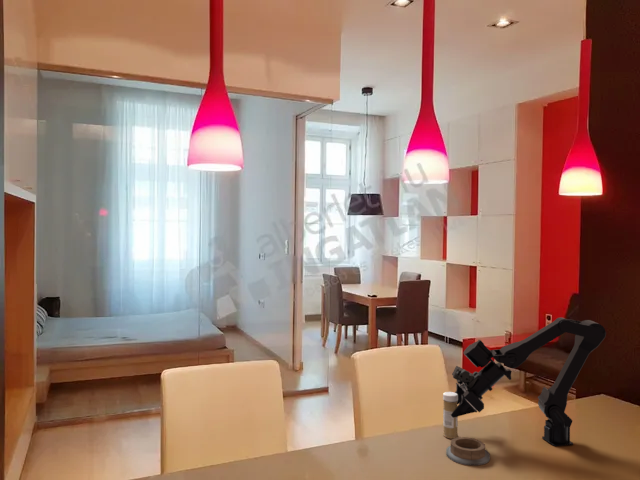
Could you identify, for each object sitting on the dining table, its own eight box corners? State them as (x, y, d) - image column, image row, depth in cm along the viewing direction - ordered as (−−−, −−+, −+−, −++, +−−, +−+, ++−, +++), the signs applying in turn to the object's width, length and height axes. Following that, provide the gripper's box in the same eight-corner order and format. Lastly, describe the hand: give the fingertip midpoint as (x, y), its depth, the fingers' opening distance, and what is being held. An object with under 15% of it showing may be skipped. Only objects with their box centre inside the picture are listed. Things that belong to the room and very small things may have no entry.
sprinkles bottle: (460, 437, 160) (461, 394, 160) (450, 440, 157) (451, 396, 157) (449, 432, 164) (450, 390, 163) (439, 435, 161) (439, 392, 161)
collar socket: (477, 445, 153) (477, 434, 153) (498, 463, 141) (498, 450, 141) (439, 448, 151) (439, 437, 151) (457, 467, 139) (457, 454, 139)
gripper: (463, 352, 169) (429, 383, 170) (473, 366, 150) (434, 401, 152) (488, 376, 168) (453, 408, 169) (500, 394, 149) (461, 429, 151)
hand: (450, 411), depth 160 cm, fingers open, 9 cm apart
